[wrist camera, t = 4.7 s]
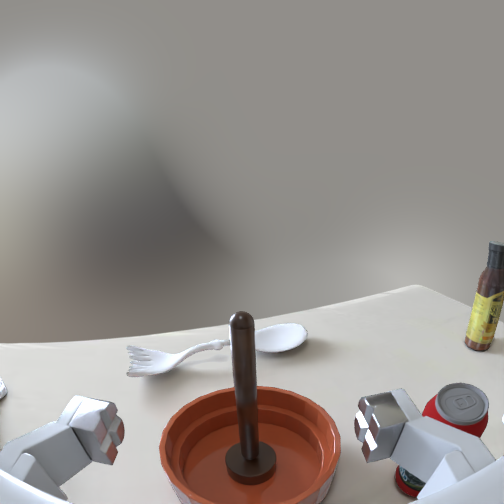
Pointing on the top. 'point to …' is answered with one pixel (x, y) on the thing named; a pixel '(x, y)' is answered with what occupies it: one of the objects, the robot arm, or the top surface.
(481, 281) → the sauce bottle
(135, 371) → the spoon
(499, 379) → the top surface
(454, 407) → the beverage can
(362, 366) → the top surface
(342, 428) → the top surface
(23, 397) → the top surface
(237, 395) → the brown rod on stand
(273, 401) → the bowl
